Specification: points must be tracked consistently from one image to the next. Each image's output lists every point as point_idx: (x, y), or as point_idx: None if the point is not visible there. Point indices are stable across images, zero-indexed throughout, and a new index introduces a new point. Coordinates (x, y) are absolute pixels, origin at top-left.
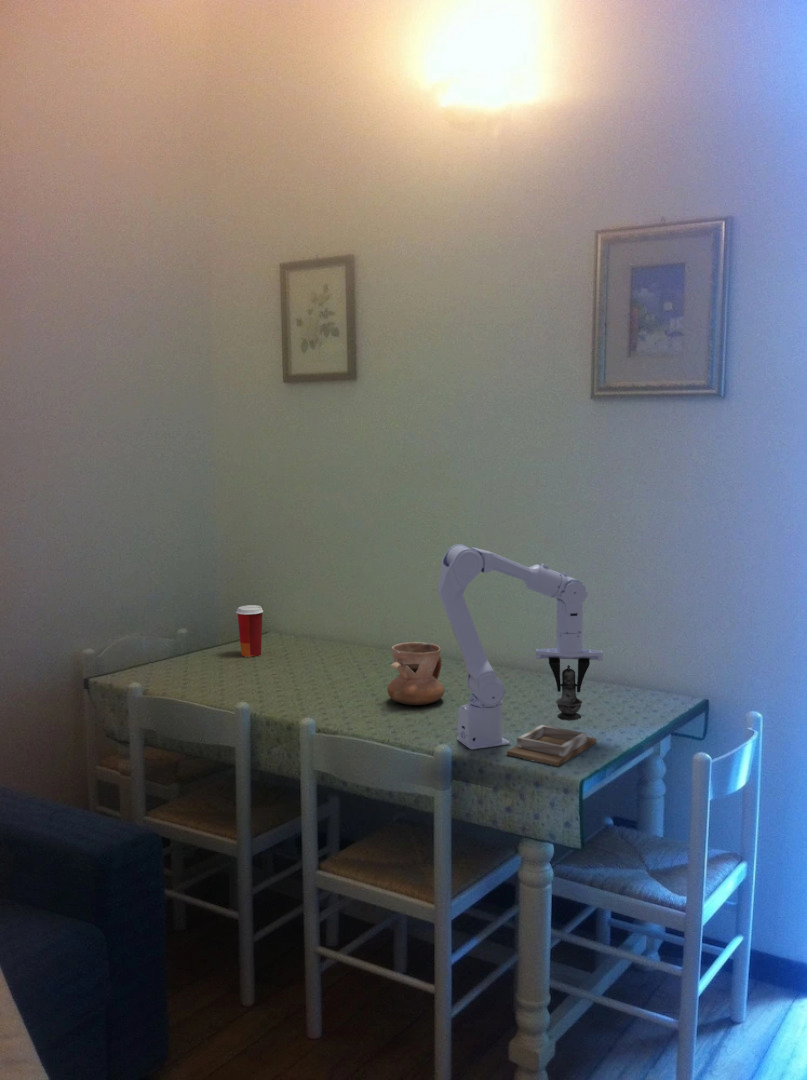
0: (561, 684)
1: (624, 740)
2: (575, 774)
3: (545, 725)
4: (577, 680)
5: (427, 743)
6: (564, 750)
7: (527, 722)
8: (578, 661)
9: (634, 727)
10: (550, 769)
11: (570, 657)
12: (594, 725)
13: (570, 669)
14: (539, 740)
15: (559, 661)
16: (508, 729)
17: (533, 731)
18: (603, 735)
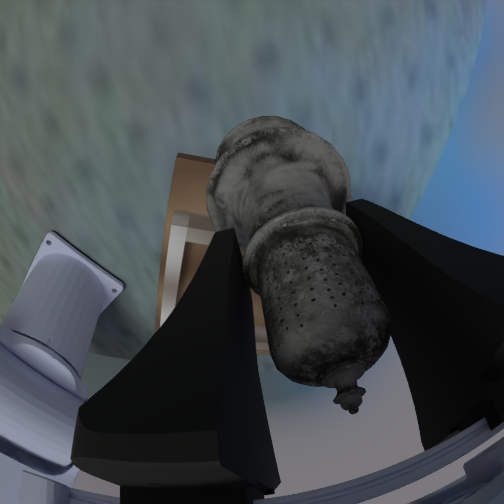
0: (251, 279)
1: (416, 150)
2: None
3: (186, 227)
4: (379, 249)
5: None
6: None
7: (79, 71)
8: (444, 438)
9: (436, 32)
10: (260, 357)
11: (396, 485)
12: (325, 17)
13: (359, 375)
14: (192, 268)
15: (268, 488)
16: (57, 170)
17: (174, 291)
18: (365, 116)
